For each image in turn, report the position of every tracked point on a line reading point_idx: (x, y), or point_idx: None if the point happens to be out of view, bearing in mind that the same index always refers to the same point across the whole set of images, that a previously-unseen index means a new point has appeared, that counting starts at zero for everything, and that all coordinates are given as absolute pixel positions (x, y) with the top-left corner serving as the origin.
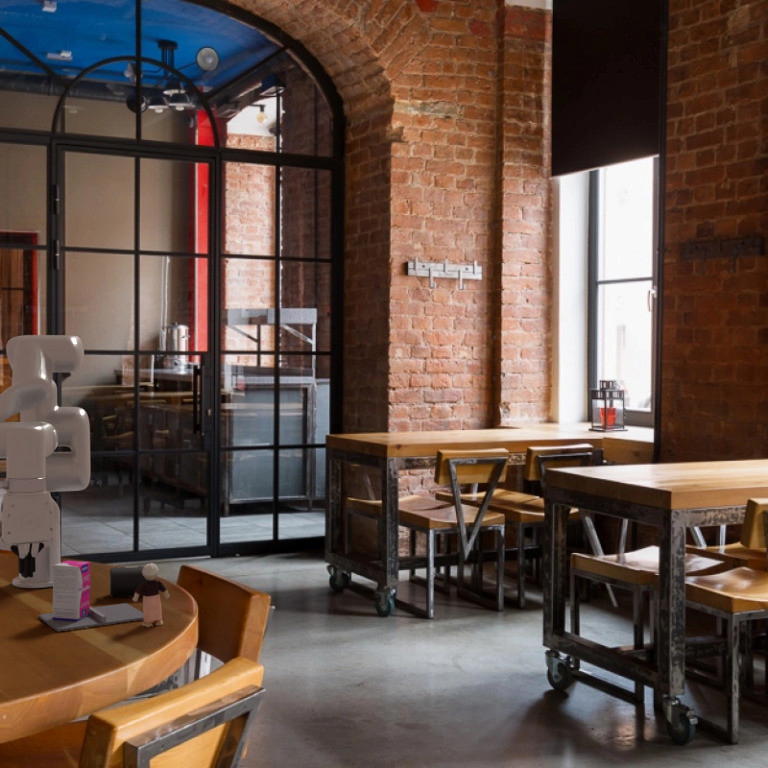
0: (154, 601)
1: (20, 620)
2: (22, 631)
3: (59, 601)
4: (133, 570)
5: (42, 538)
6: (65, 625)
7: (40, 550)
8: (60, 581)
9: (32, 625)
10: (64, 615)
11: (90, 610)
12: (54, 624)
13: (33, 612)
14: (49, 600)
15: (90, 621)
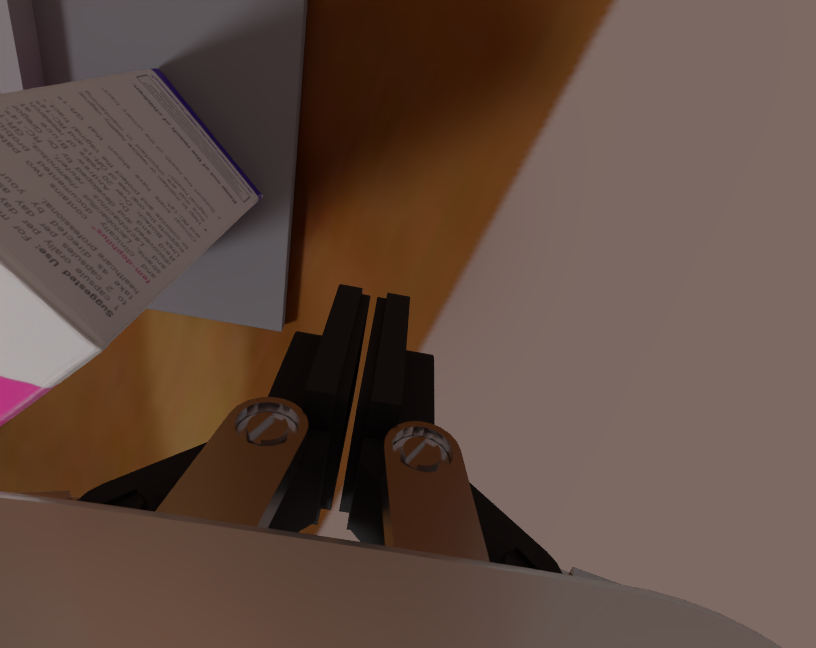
0: None
1: (364, 336)
2: (445, 150)
3: (194, 188)
4: None
5: (12, 545)
6: (238, 36)
7: (163, 462)
8: (122, 230)
9: (358, 224)
10: (203, 139)
11: None
12: (283, 105)
13: None
14: None
15: (84, 17)
